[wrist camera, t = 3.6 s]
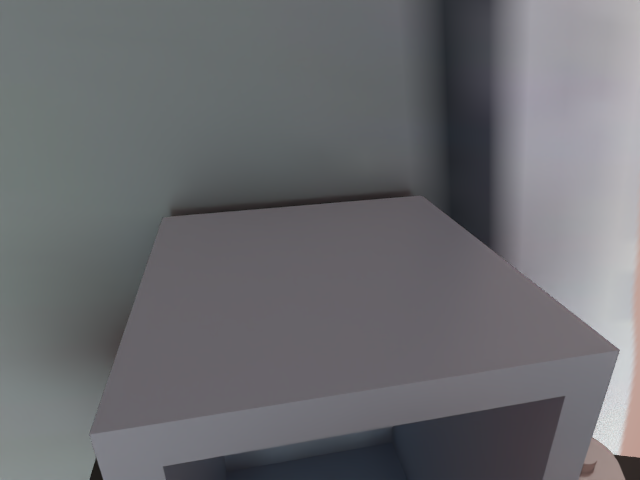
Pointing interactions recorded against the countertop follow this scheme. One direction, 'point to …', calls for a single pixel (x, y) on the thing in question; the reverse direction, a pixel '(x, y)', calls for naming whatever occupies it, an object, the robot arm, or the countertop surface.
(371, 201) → the grey open bin
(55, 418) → the countertop surface
